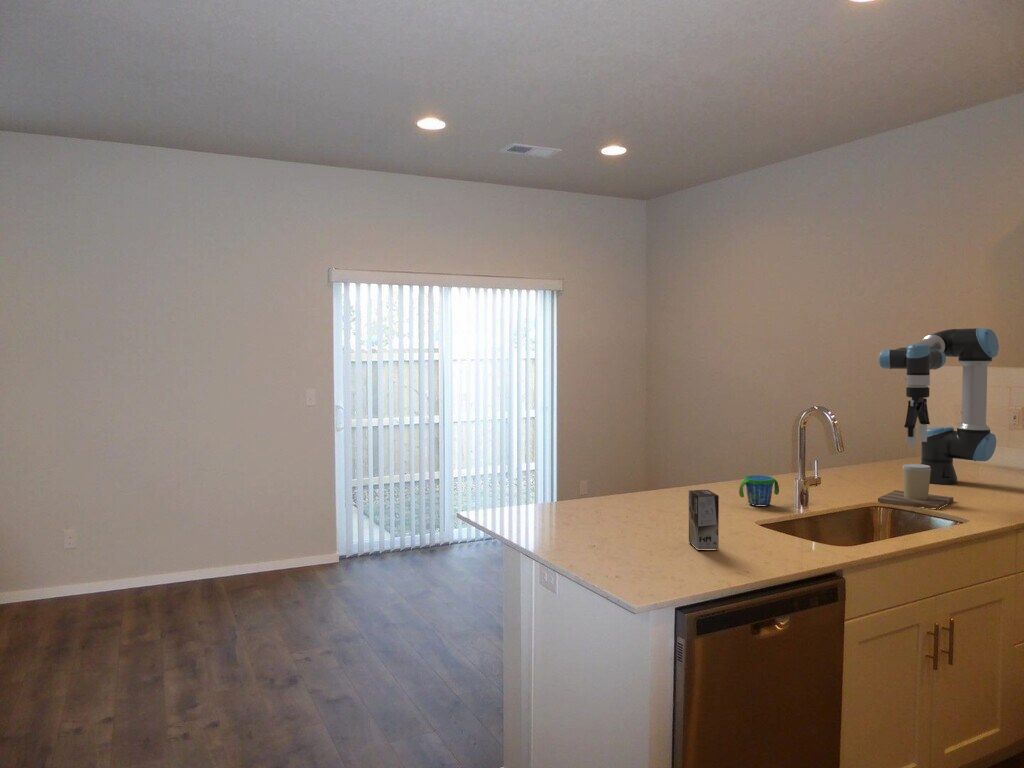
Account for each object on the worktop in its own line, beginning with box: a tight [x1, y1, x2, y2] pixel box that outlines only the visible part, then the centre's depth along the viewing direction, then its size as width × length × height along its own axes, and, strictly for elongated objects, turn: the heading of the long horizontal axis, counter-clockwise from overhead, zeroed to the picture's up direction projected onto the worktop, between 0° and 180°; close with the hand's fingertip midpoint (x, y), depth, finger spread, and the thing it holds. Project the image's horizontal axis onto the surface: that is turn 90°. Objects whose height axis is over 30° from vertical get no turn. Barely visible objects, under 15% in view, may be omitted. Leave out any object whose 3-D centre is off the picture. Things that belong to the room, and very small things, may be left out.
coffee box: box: [688, 489, 720, 550], centre depth 213 cm, size 9×6×16 cm
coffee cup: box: [901, 463, 931, 500], centre depth 271 cm, size 9×9×12 cm
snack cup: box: [738, 474, 780, 506], centre depth 268 cm, size 16×10×10 cm
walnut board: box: [877, 489, 955, 510], centre depth 271 cm, size 20×20×2 cm
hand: (917, 443), depth 271 cm, fingers open, 13 cm apart
